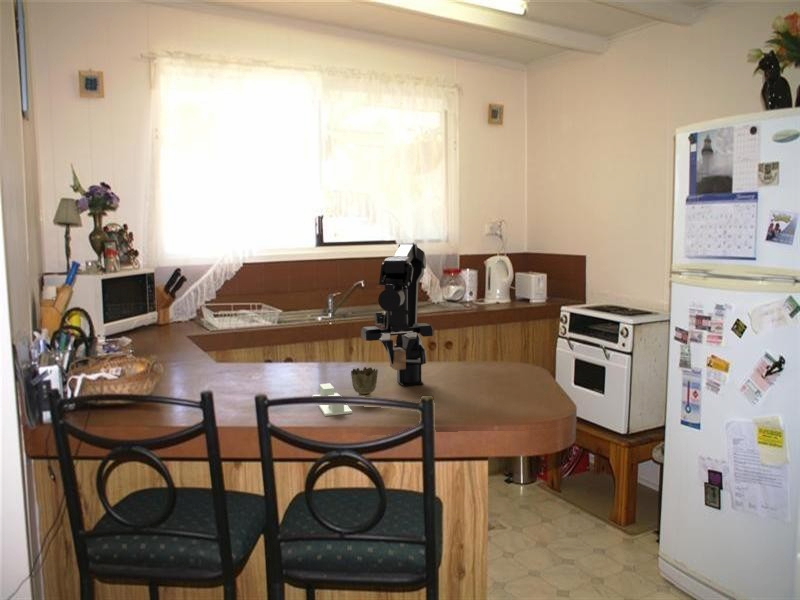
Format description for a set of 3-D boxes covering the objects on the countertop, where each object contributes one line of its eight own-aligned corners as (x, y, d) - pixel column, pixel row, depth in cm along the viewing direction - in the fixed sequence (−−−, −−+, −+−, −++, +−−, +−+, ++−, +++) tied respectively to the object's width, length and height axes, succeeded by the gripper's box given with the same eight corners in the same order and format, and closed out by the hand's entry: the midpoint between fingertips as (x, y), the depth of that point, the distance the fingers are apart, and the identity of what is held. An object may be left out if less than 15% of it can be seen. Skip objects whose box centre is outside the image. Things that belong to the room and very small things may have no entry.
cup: (354, 403, 171) (353, 374, 170) (349, 395, 178) (348, 368, 177) (381, 400, 173) (380, 372, 172) (374, 393, 180) (374, 366, 179)
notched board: (337, 394, 179) (336, 382, 179) (352, 413, 162) (351, 399, 162) (312, 397, 177) (312, 384, 177) (325, 416, 160) (324, 402, 160)
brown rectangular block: (400, 365, 173) (400, 347, 172) (405, 369, 169) (405, 350, 168) (390, 366, 172) (389, 348, 171) (395, 370, 168) (394, 351, 167)
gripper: (419, 300, 179) (420, 354, 181) (355, 303, 173) (356, 359, 175) (433, 305, 168) (434, 362, 170) (366, 309, 162) (367, 368, 165)
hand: (397, 363), depth 170 cm, fingers closed on brown rectangular block, 3 cm apart
